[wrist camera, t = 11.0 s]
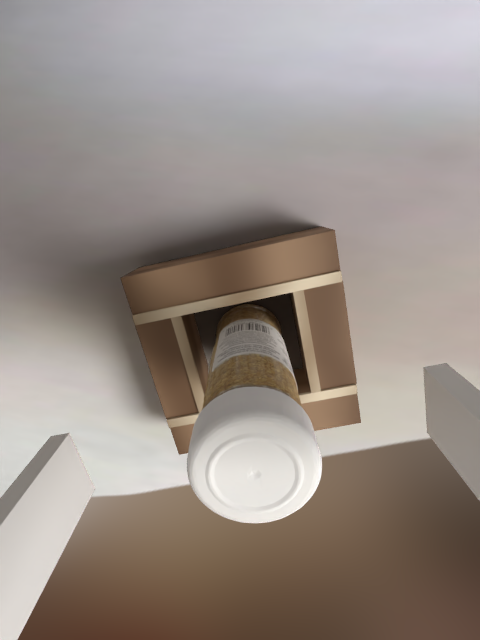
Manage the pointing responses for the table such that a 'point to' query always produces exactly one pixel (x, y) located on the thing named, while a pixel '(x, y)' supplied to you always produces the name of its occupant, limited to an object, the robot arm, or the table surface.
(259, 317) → the sprinkles bottle
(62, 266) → the table surface
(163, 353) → the socket
